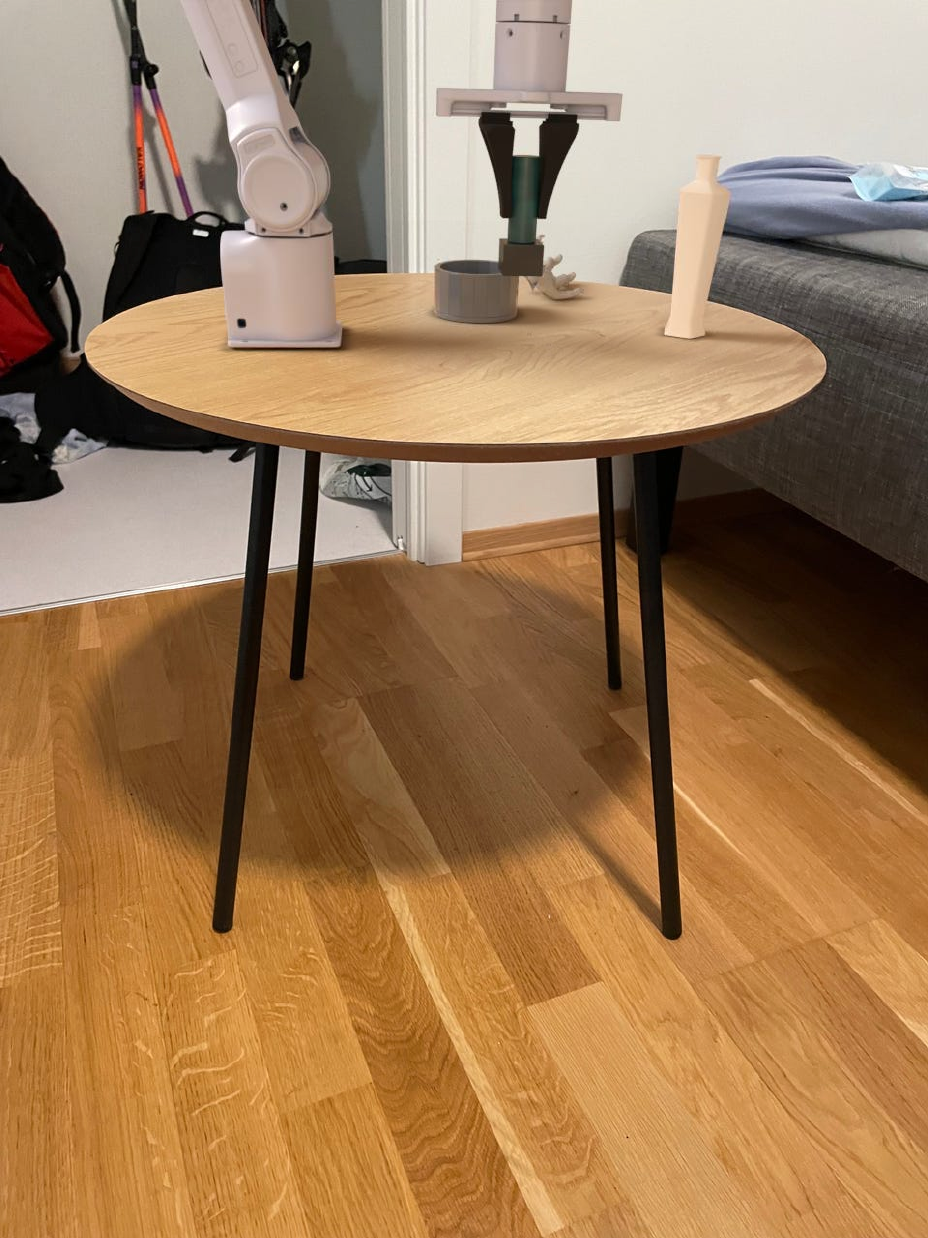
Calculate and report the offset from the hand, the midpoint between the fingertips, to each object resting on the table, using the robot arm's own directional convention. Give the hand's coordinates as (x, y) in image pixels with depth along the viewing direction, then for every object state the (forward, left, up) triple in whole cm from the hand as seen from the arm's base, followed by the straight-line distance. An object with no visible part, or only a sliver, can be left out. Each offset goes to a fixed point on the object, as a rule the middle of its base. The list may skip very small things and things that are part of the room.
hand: (522, 217), depth 78 cm
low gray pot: (-2, +11, -10) cm, 16 cm away
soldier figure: (+7, +21, -11) cm, 25 cm away
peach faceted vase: (+17, +3, -11) cm, 20 cm away
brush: (0, 0, -4) cm, 4 cm away
